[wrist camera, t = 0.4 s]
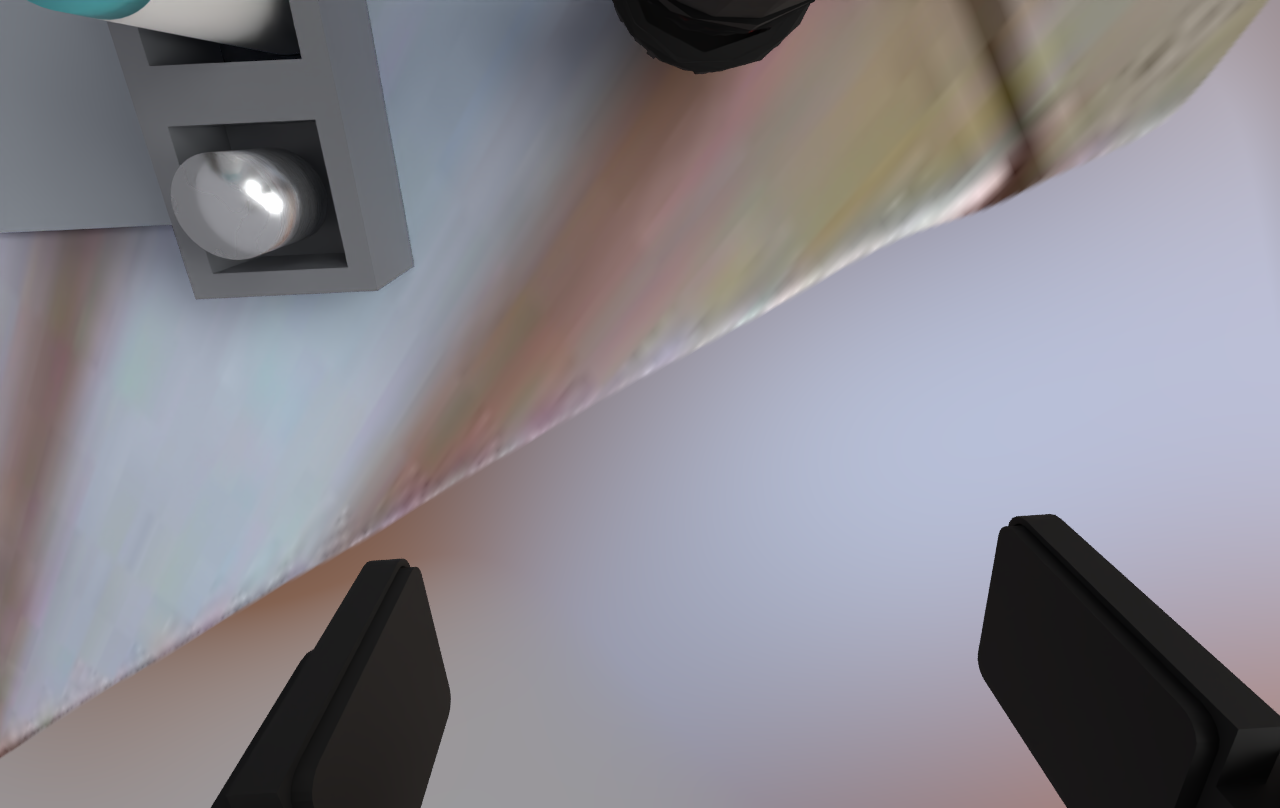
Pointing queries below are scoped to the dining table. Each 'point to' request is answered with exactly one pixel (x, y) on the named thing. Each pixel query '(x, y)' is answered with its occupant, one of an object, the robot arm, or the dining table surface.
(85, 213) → the mat
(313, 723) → the robot arm
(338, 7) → the housing
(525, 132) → the dining table surface
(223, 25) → the cylinder
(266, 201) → the silver metallic cylinder
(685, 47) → the filter
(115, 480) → the dining table surface
